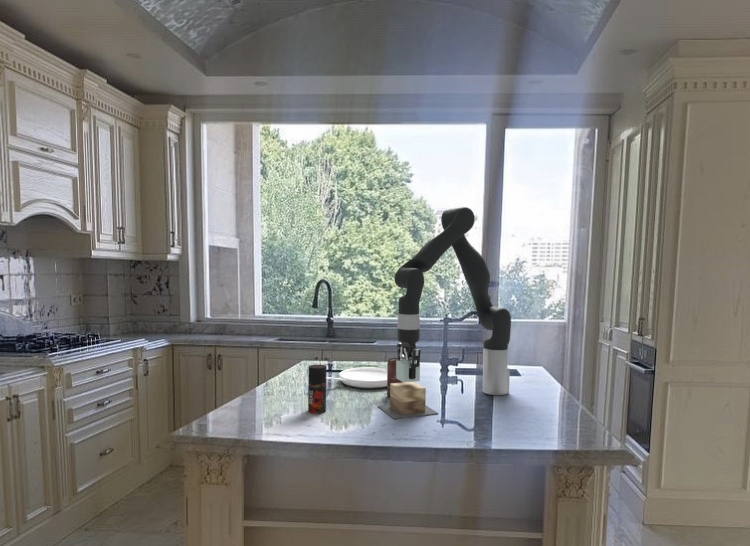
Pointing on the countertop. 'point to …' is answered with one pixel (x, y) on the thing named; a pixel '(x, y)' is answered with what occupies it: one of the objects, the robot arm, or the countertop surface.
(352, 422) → the countertop surface
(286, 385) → the countertop surface
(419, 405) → the block bottom
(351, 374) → the pan
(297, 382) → the countertop surface
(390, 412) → the mat
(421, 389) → the block top
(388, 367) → the can
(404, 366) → the cube
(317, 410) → the deodorant
